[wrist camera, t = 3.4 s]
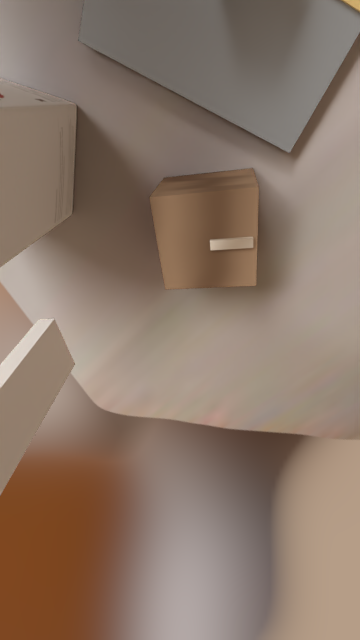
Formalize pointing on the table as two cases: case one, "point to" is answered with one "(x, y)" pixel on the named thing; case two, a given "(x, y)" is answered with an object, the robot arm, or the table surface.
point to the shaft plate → (232, 53)
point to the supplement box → (34, 165)
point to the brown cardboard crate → (207, 229)
